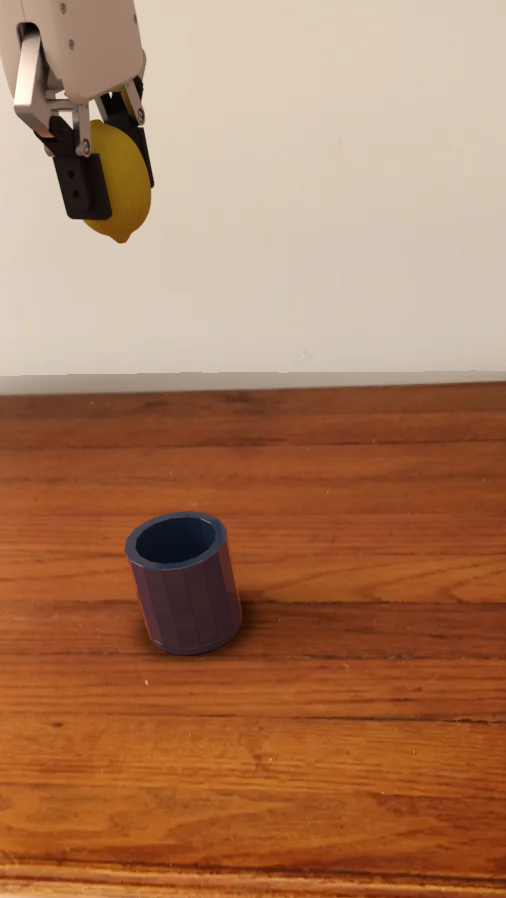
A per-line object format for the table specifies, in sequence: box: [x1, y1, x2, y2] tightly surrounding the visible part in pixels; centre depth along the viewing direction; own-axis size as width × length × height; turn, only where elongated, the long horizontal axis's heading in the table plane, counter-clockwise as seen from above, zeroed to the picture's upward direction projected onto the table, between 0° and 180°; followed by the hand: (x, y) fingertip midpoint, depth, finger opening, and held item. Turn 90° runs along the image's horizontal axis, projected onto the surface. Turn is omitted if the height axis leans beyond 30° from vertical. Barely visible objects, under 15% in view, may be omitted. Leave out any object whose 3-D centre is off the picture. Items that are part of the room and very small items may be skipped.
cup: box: [123, 510, 244, 656], centre depth 63 cm, size 6×6×7 cm
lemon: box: [82, 119, 152, 245], centre depth 66 cm, size 6×6×8 cm
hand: (112, 200), depth 66 cm, fingers closed on lemon, 5 cm apart
